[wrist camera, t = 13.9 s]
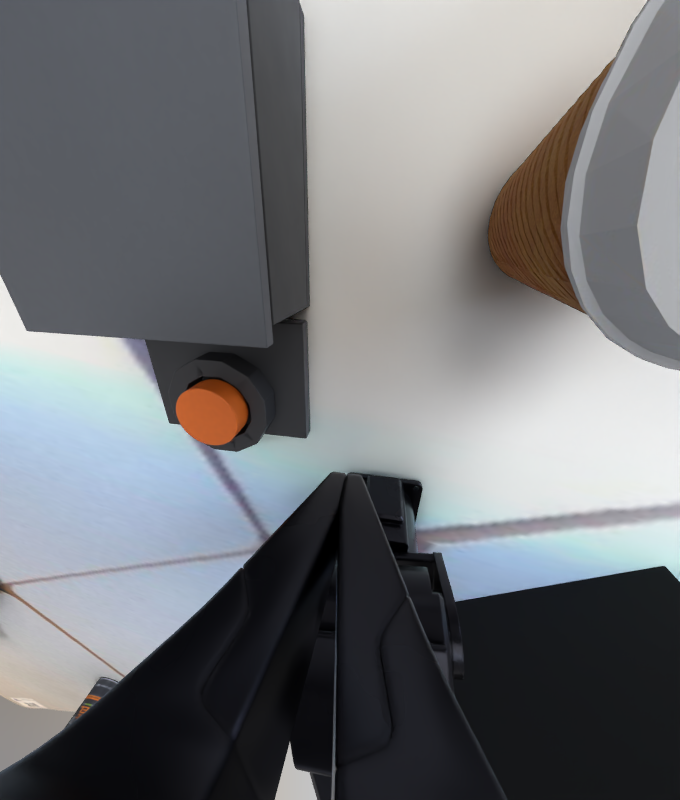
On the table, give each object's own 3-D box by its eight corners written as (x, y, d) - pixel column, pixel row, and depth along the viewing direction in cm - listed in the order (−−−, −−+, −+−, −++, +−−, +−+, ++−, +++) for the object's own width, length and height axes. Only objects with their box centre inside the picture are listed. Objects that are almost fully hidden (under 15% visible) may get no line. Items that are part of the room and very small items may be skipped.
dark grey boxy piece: (309, 306, 18) (273, 325, 12) (143, 297, 20) (40, 311, 14) (303, 14, 13) (231, -210, 7) (71, 33, 14) (-157, -135, 8)
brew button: (252, 435, 21) (241, 449, 19) (198, 429, 21) (183, 442, 20) (244, 381, 19) (232, 391, 17) (185, 376, 19) (167, 385, 18)
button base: (310, 437, 23) (300, 459, 20) (180, 423, 25) (155, 442, 22) (307, 320, 19) (294, 329, 16) (150, 311, 20) (114, 318, 18)
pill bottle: (121, 681, 59) (66, 766, 49) (127, 692, 62) (77, 775, 52) (95, 674, 59) (37, 757, 49) (103, 685, 62) (49, 766, 52)
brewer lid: (273, 344, 13) (267, 348, 12) (44, 328, 14) (26, 331, 13) (230, -212, 7) (211, -269, 6) (-160, -137, 8) (-213, -176, 7)
